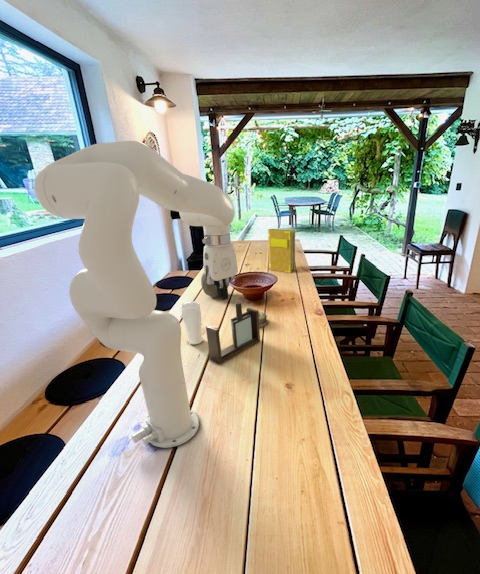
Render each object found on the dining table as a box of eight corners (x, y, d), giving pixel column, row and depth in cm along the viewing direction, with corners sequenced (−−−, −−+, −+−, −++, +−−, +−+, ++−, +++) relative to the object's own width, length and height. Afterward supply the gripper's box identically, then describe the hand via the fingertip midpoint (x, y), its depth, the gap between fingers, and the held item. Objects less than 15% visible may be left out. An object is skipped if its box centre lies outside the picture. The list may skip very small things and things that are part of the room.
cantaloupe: (218, 302, 158) (215, 273, 152) (197, 298, 165) (193, 269, 159) (235, 293, 169) (233, 265, 163) (215, 290, 176) (212, 263, 170)
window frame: (219, 364, 106) (215, 330, 101) (209, 359, 109) (205, 326, 104) (260, 341, 120) (258, 310, 115) (250, 337, 123) (248, 307, 118)
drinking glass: (200, 346, 118) (195, 308, 112) (183, 345, 119) (177, 308, 113) (207, 338, 124) (202, 301, 118) (190, 337, 125) (185, 301, 119)
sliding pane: (237, 349, 112) (233, 306, 106) (233, 348, 113) (229, 305, 107) (253, 340, 118) (251, 299, 111) (249, 339, 119) (247, 298, 112)
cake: (271, 321, 137) (272, 309, 135) (260, 331, 129) (260, 319, 127) (251, 315, 141) (251, 304, 138) (239, 325, 133) (239, 313, 131)
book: (295, 270, 205) (295, 229, 195) (290, 272, 200) (290, 231, 190) (272, 267, 214) (271, 228, 203) (267, 269, 209) (265, 230, 198)
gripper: (205, 245, 88) (212, 308, 95) (244, 237, 98) (248, 294, 105) (189, 242, 92) (197, 302, 100) (227, 235, 102) (232, 290, 110)
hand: (223, 298), depth 102 cm, fingers closed
